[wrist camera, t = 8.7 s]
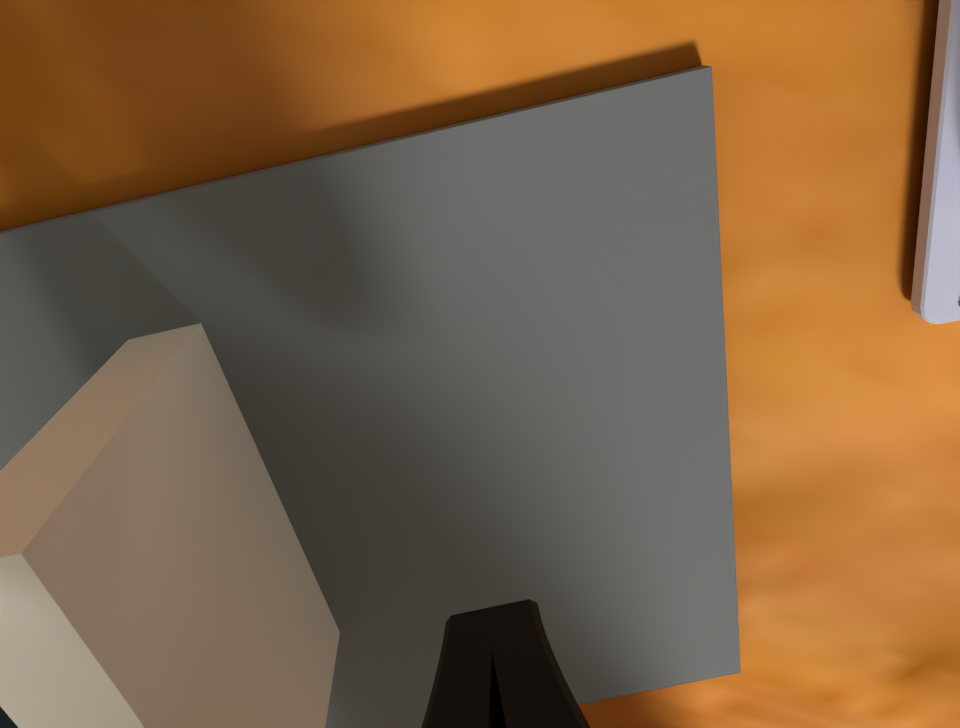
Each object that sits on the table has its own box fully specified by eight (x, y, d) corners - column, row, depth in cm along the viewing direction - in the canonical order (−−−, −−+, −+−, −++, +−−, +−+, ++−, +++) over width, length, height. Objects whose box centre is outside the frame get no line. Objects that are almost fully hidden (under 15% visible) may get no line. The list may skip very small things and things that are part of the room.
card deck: (201, 323, 13) (21, 553, 7) (339, 632, 17) (293, 935, 11) (123, 340, 13) (-116, 582, 7) (280, 644, 17) (203, 951, 11)
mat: (703, 65, 12) (711, 66, 12) (734, 660, 19) (740, 672, 19) (-336, 309, 13) (-358, 318, 12) (73, 791, 20) (67, 805, 20)
